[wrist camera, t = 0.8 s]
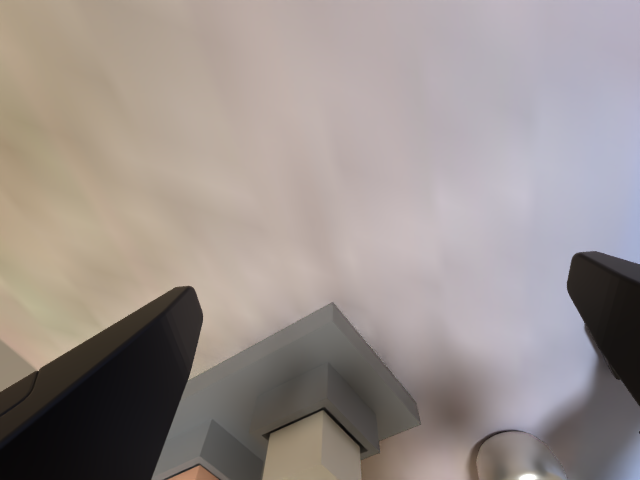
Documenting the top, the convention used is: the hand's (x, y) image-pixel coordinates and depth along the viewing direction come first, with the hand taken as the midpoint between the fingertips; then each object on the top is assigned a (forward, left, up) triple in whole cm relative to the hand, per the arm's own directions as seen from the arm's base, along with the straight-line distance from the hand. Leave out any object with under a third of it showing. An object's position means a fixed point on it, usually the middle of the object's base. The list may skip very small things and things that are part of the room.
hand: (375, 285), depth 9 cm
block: (-14, +18, -14) cm, 27 cm away
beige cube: (-14, +12, -9) cm, 21 cm away
